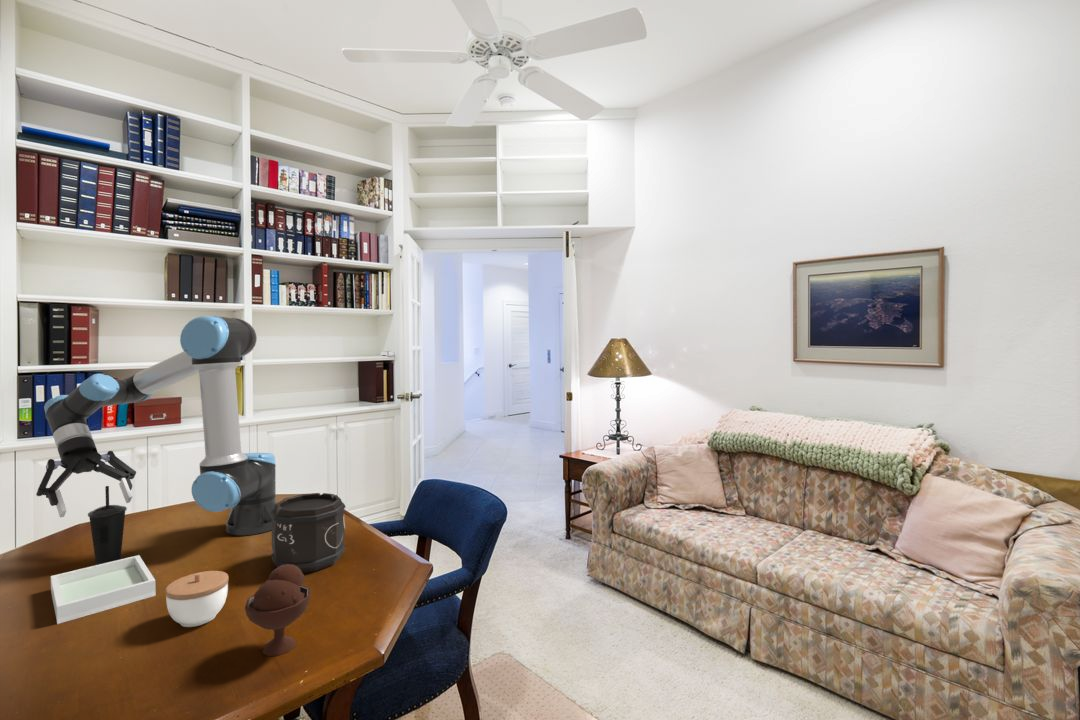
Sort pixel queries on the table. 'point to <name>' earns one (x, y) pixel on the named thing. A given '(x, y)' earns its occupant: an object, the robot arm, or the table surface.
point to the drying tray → (100, 588)
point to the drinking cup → (107, 531)
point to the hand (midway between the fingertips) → (97, 506)
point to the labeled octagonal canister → (308, 531)
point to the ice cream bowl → (279, 606)
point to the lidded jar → (197, 597)
